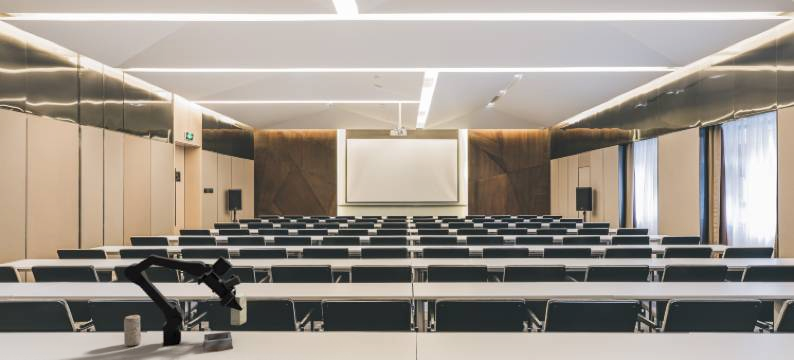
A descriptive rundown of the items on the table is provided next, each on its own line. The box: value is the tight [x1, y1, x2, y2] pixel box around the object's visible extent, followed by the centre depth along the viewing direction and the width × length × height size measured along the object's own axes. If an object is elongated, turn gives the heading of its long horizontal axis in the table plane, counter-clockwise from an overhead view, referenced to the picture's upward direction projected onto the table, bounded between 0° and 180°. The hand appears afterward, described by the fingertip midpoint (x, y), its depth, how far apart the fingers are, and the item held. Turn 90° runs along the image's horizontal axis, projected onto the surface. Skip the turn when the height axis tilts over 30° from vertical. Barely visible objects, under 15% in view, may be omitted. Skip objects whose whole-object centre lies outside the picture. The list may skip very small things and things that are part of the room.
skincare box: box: [230, 293, 247, 326], centre depth 225 cm, size 6×4×12 cm
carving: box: [123, 314, 142, 347], centre depth 216 cm, size 6×8×12 cm
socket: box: [203, 331, 234, 353], centre depth 214 cm, size 11×11×4 cm
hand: (242, 307), depth 225 cm, fingers closed on skincare box, 7 cm apart
